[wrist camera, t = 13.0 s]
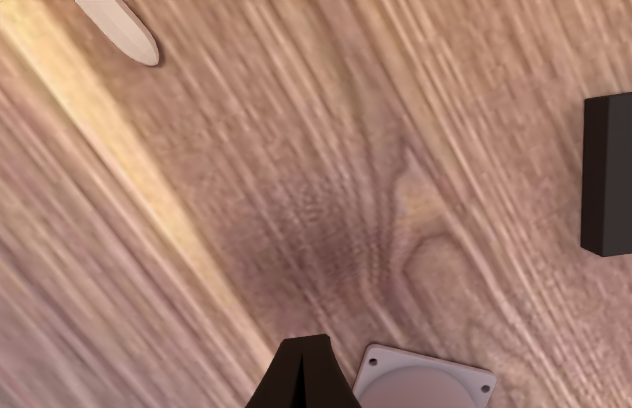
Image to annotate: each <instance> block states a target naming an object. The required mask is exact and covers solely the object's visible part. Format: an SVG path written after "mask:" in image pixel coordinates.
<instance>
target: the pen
mask: <svg viewBox="0 0 632 408" xmlns="http://www.w3.org/2000/svg"><path fill="white" fill-rule="evenodd" d="M74 1H75V2H76V3H77V4H78V5H79V6H80V7H81V8H82V9H83V11H84V12H85V13H86V14H87V15H88V16H89V17H90V18H91V19H92V20H93V22H94V23H95V24H96V25H97V26H98V27H99V28H100V29H101V30H102V31H103V32H104V33H105V35H106V36H107V37H108V38H109V39H110V40H111V41H112V42H113V43H114V44H115V45H116V46H117V47H118V48H119V49H120V50H121V51H123V52H124V53H125V54H126V55H128V56H129V57H130V58H132V59H133V60H134V61H136V62H138V63H140V64H144V65H149V66H154V65H157V64H158V62H159V53H158V48H157V45H156V43H155V40H154V38H153V37H152V35H151V34H150V32H149V31H148V29H147V28H146V27H145V26H144V25H143V23H142V22H141V21H140V20H139V19H138V18H137V17H136V15H135V14H134V13H133V12H132V11H131V10H130V9H129V7H128V6H127V5H126V4H125V3H124V2H123V1H122V0H74Z"/></svg>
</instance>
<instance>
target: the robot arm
mask: <svg viewBox="0 0 632 408" xmlns="http://www.w3.org/2000/svg"><path fill="white" fill-rule="evenodd" d="M372 358H374V359H376V360H375V361H373V362H370V361H369V360H370V359H372ZM496 381H497V380H496V377H495V376H494V374H493V373H492V372H490V371H487V370H483V369H479V368H475V367H470V366H466V365H462V364H458V363H454V362H450V361H445V360H441V359H437V358H433V357H429V356H425V355H420V354H416V353H412V352H408V351H404V350H400V349H395V348H391V347H387V346H383V345H379V344H372V345H370V346H368V348H367V349H366V352H365V355H364V358H363V361H362V364H361V367H360V370H359V373H358V376H357V378H356V381H355V384H354V387H353V390H351V388H350V386H349V385H348V383H347V381H346V379H345V377H344V375H343V373H342V371H341V369H340V367H339V365H338V363H337V360H336V358H335V355H334V353H333V350H332V347H331V342H330V337H329V336H328V335H326V334H320V335H312V336H305V337H297V338H290V339H284V340H283V341H282V342H281V344H280V346H279V348H278V350H277V352H276V354H275V356H274V358H273V360H272V362H271V364H270V366H269V368H268V370H267V372H266V373H265V375H264V377H263V379H262V380H261V382H260V384H259V386H258V387H257V389H256V391H255V392H254V394H253V396H252V397H251V399H250V401H249V402H248V404H247V405H246V407H245V408H485V407H486V405H487V402H488V400H489V398H490V396H491V394H492V391H493V389H494V387H495V385H496ZM484 385H486V386H485V387H484V388H482V386H484Z"/></svg>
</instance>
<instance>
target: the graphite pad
mask: <svg viewBox="0 0 632 408" xmlns="http://www.w3.org/2000/svg"><path fill="white" fill-rule="evenodd" d="M581 247H582V248H584V249H586V250H588V251H590V252H593V253H595V254H597V255H599V256H601V257H608V256H615V255H623V254H631V253H632V92H628V93H621V94H615V95H608V96H601V97H594V98H588V99H586V103H585V138H584V173H583V208H582V243H581Z"/></svg>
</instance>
